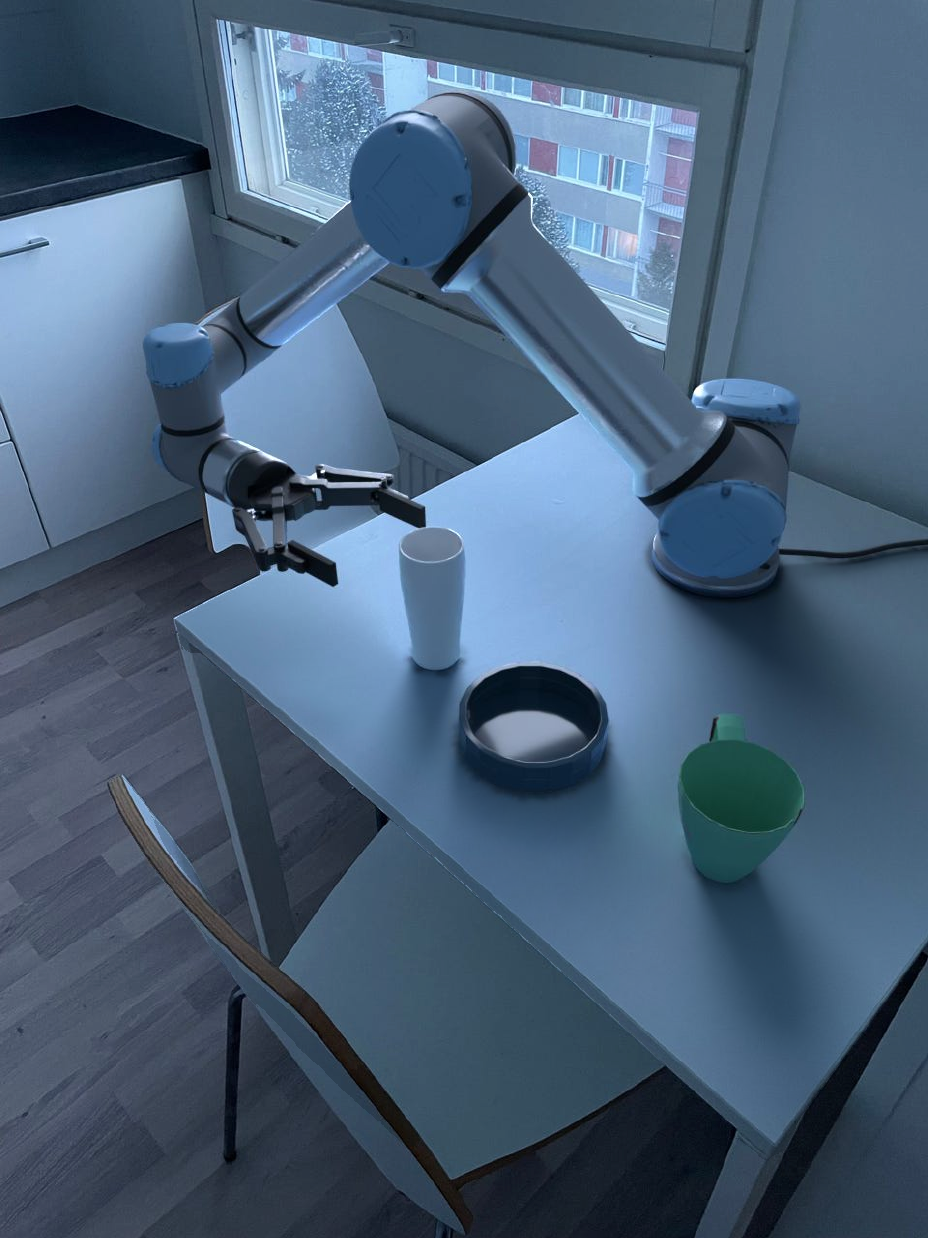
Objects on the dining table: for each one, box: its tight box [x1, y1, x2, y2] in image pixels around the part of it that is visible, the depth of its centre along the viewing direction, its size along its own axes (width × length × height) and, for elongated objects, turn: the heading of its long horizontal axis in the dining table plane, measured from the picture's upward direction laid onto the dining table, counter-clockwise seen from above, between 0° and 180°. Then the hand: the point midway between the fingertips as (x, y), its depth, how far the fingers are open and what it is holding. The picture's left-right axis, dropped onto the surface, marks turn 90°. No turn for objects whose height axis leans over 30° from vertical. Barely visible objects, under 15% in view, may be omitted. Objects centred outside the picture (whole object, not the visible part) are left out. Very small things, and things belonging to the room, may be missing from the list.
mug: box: [677, 712, 806, 884], centre depth 76 cm, size 15×10×10 cm
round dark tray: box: [458, 661, 610, 794], centre depth 88 cm, size 14×14×4 cm
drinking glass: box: [398, 526, 467, 671], centre depth 94 cm, size 7×7×15 cm
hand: (381, 545), depth 95 cm, fingers open, 13 cm apart
